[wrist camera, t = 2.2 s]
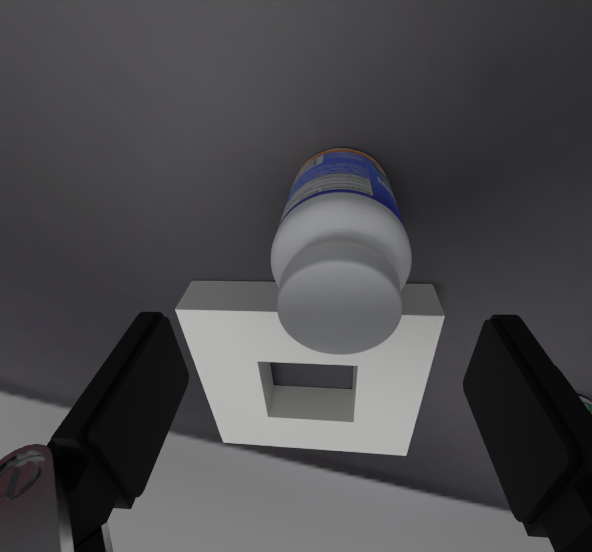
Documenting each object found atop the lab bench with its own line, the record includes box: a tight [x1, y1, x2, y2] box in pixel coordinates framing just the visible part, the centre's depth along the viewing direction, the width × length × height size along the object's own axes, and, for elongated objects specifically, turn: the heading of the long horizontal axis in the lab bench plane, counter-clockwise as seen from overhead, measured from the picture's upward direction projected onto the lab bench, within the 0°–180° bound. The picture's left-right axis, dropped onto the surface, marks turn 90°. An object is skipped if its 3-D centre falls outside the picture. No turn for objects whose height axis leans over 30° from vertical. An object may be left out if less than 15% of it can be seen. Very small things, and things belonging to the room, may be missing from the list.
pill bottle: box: [271, 148, 412, 355], centre depth 14 cm, size 5×5×10 cm
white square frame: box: [175, 281, 445, 456], centre depth 25 cm, size 16×16×3 cm
